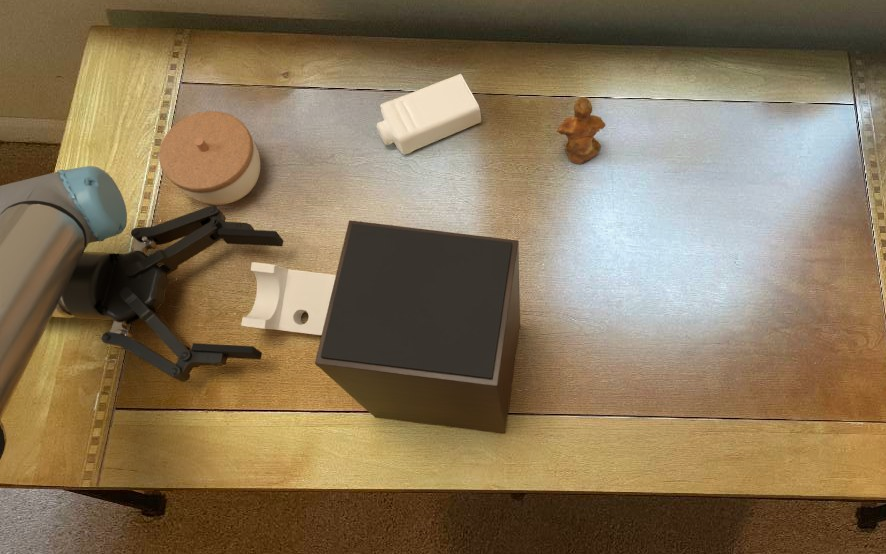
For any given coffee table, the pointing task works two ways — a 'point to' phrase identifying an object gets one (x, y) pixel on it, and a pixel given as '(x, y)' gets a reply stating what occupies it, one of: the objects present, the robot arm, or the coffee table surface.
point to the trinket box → (211, 157)
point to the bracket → (289, 299)
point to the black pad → (419, 301)
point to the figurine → (581, 132)
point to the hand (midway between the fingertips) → (269, 294)
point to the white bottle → (428, 114)
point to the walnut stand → (431, 391)
